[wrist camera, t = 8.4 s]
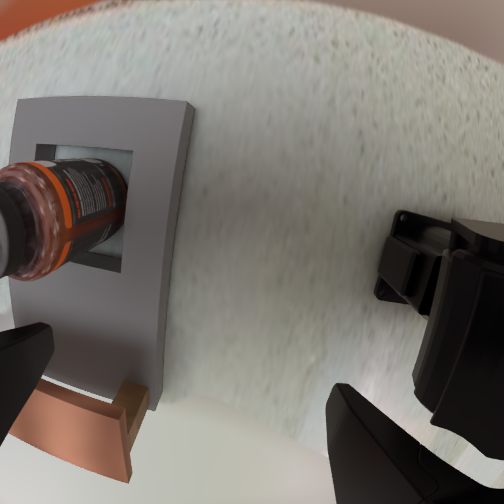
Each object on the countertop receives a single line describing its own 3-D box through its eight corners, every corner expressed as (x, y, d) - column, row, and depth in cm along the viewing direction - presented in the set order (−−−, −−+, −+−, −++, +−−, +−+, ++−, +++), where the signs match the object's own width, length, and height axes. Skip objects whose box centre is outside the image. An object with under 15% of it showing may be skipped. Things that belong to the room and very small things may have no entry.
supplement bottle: (87, 141, 19) (-31, 137, 8) (147, 192, 20) (46, 225, 9) (48, 207, 21) (-64, 245, 10) (102, 258, 22) (3, 329, 11)
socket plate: (195, 108, 19) (186, 101, 16) (162, 392, 25) (154, 411, 22) (37, 103, 18) (18, 99, 16) (36, 352, 24) (22, 366, 22)
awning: (156, 345, 20) (119, 420, 13) (154, 411, 22) (128, 483, 15) (11, 302, 20) (-48, 344, 13) (22, 366, 22) (-23, 414, 15)
